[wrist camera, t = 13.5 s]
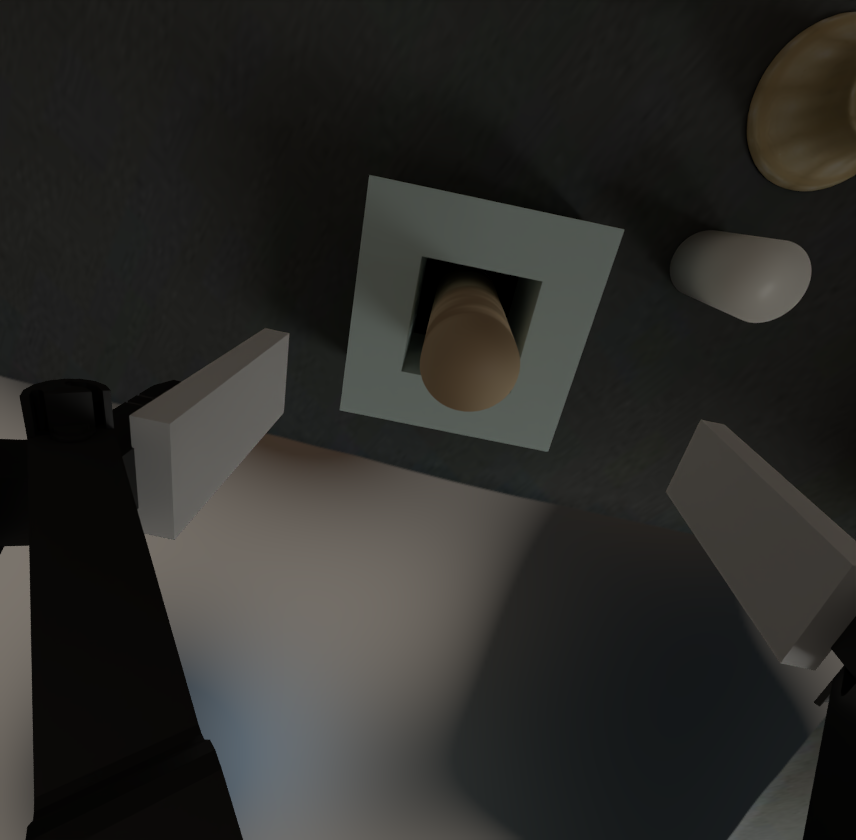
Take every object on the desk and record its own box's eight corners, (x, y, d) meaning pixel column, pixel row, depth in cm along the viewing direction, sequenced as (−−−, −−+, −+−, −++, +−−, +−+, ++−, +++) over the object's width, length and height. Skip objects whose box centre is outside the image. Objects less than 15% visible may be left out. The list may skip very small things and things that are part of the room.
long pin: (503, 274, 31) (533, 329, 19) (487, 333, 33) (504, 420, 20) (443, 260, 31) (431, 306, 18) (429, 320, 33) (411, 400, 20)
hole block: (584, 220, 30) (624, 229, 22) (529, 398, 35) (547, 451, 28) (391, 179, 29) (369, 174, 22) (364, 364, 34) (339, 410, 27)
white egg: (749, 237, 30) (827, 249, 23) (719, 302, 31) (785, 330, 25) (685, 223, 29) (747, 231, 23) (659, 289, 31) (710, 314, 25)
